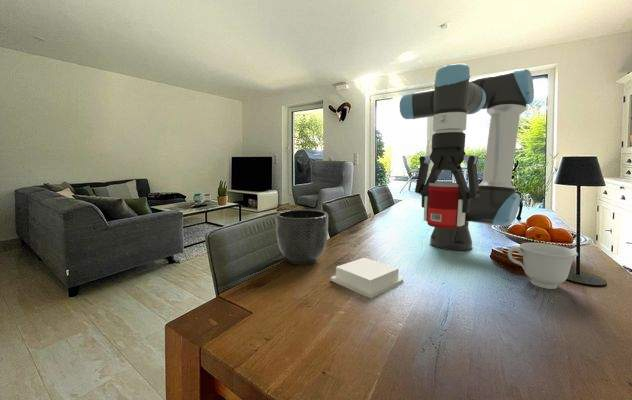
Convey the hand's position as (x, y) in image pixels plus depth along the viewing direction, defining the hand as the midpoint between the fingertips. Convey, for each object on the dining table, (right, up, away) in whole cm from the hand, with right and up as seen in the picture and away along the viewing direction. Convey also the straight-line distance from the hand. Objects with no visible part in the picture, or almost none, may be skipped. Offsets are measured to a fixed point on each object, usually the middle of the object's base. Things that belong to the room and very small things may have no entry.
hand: (443, 222), depth 74 cm
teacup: (+27, -17, +4) cm, 32 cm away
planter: (-37, -15, +22) cm, 46 cm away
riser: (-19, -17, +5) cm, 26 cm away
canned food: (0, -1, 0) cm, 1 cm away
